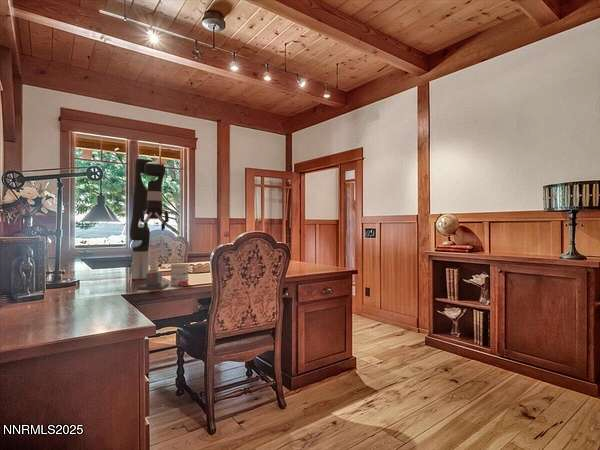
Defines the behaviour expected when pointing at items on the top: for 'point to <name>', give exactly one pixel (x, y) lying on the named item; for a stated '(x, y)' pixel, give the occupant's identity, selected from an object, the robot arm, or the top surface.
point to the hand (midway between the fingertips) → (154, 230)
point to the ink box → (179, 274)
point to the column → (153, 259)
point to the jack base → (153, 282)
